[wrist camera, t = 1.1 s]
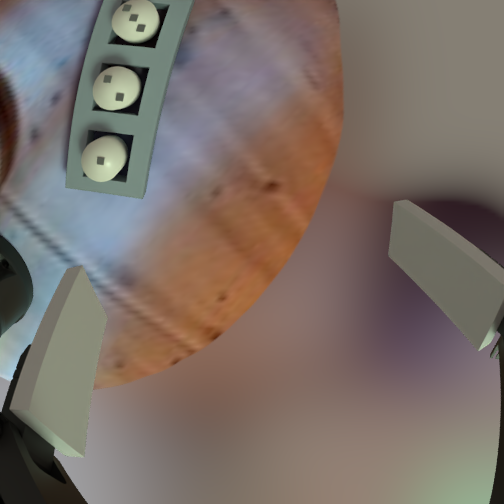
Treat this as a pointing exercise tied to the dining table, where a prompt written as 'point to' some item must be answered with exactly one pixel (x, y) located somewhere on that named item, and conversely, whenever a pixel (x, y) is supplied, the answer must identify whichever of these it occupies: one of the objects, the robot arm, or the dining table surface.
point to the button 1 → (104, 158)
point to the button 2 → (116, 88)
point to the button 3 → (136, 21)
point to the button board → (97, 119)
